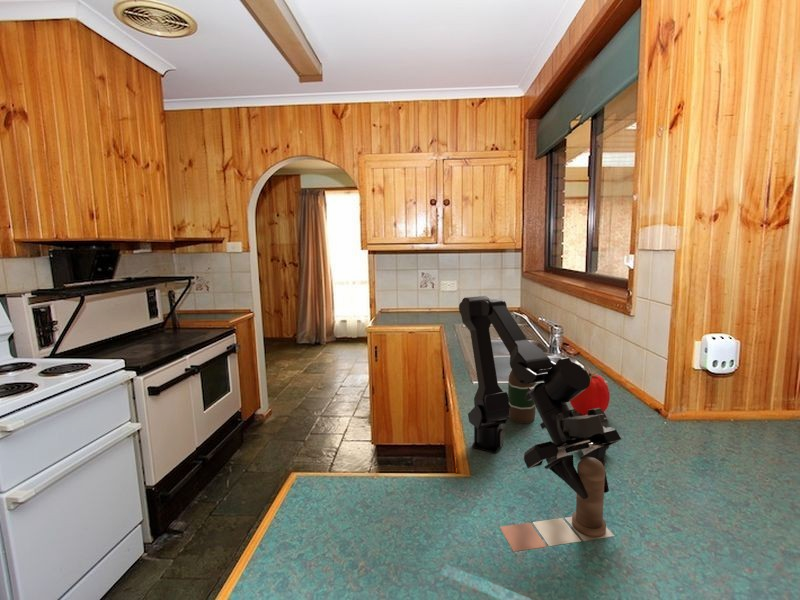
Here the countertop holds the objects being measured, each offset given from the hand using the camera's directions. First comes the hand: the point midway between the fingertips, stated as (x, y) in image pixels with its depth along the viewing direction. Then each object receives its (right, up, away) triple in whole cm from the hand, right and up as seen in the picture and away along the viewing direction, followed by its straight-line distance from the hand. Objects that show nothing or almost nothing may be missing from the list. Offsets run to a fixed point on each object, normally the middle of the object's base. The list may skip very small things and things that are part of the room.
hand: (596, 495), depth 71 cm
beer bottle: (+2, -1, +49) cm, 49 cm away
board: (-7, -8, +2) cm, 11 cm away
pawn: (0, -7, +2) cm, 7 cm away
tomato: (+22, 0, +50) cm, 55 cm away
